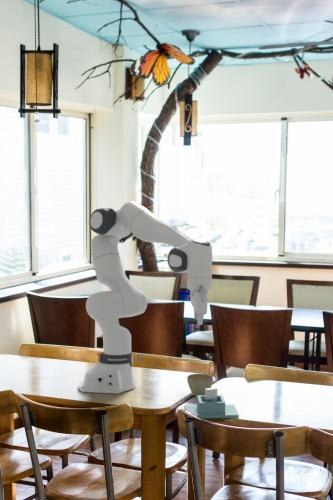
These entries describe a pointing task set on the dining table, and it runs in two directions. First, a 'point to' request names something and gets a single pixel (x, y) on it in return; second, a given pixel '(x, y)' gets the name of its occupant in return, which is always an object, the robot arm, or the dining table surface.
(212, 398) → the gray rectangular block
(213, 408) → the well
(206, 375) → the flower pot
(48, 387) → the dining table surface
